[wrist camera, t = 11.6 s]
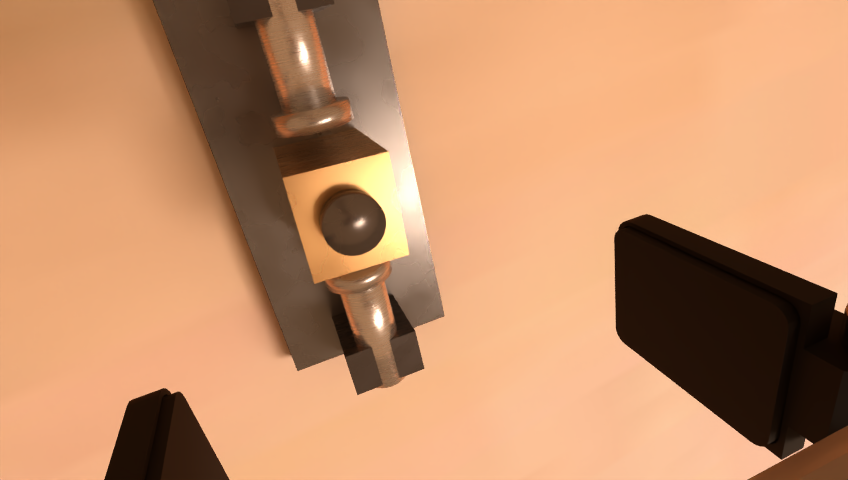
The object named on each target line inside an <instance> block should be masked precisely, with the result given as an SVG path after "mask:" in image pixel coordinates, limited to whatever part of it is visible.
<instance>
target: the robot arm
mask: <svg viewBox="0 0 848 480" xmlns="http://www.w3.org/2000/svg"><path fill="white" fill-rule="evenodd" d="M614 243H615V302H616V331H617V334H618V336H619V337H620V339H621V340H622V341H623V342H624V343H625V344H626V345H627V346H628V347H630V348H631V349H632V350H634V351H635V352H636V353H637V354H639V355H640V356H641V357H643V358H644V359H645V360H646V361H648V362H649V363H650V364H652V365H653V366H654V367H655V368H657V369H658V370H659V371H661V372H662V373H663V374H664V375H666V376H667V377H668V378H670V379H671V380H672V381H673V382H675V383H676V384H677V385H678V386H680V387H681V388H682V389H684V390H685V391H686V392H687V393H689V394H690V395H691V396H693V397H694V398H695V399H696V400H698V401H699V402H700V403H702V404H703V405H704V406H705V407H707V408H708V409H709V410H711V411H712V412H713V413H714V414H716V415H717V416H718V417H720V418H721V419H722V420H723V421H725V422H726V423H727V424H729V425H730V426H731V427H732V428H734V429H735V430H736V431H738V432H739V433H740V434H741V435H743V436H744V437H745V438H747V439H748V440H749V441H750V442H752V443H754V444H755V445H758V446H764V447H766V448H767V449H768V450H770V451H771V452H772V453H773V454H775V455H776V456H777V457H779V458H780V459H781V460H782V459H784V458H785V457H787V456H789V455H791V454H793V453H794V452H796V451H798V450H800V449H802V448H803V446H804V442H805V438H806V439H807V440H809V441H810V442H812V443H813V445H811V446H809V447H807V448H805V449H803V450H802V451H800V452H798V453H796V454H794V455H792V456H790V457H789V458H787V459H785V460H783V461H781V462H779V463H778V464H776V465H774V466H772V467H770V468H768V469H766V470H765V471H763V472H761V473H759V474H757V475H755V476H753V477H752V478H750V479H748V480H848V304H847V306H846V308H845V312H844V314H843V313H841V312H839V311H837V310H834V307H835V303H836V298H837V294H838V293H836V292H833V291H831V290H828V289H826V288H824V287H821V286H819V285H816V284H814V283H812V282H809V281H807V280H805V279H802V278H800V277H797V276H795V275H793V274H790V273H788V272H785V271H783V270H781V269H778V268H776V267H773V266H771V265H769V264H766V263H764V262H761V261H759V260H757V259H754V258H752V257H749V256H747V255H745V254H742V253H740V252H738V251H735V250H733V249H730V248H728V247H726V246H723V245H721V244H718V243H716V242H714V241H711V240H709V239H706V238H704V237H702V236H699V235H697V234H694V233H692V232H690V231H687V230H685V229H682V228H680V227H678V226H675V225H673V224H671V223H668V222H666V221H663V220H661V219H659V218H656V217H654V216H651V215H647V214H646V215H642V216H639V217H636V218H633V219H630V220H628V221H625V222H623V223H622V224H620V227H619V230H618V231H617V232H616V234H615V238H614ZM104 480H229V478H228V476H227V474H226V473H225V471H224V469H223V467H222V465H221V463H220V461H219V460H218V458H217V456H216V454H215V452H214V450H213V449H212V447H211V445H210V443H209V441H208V439H207V438H206V436H205V434H204V432H203V430H202V428H201V426H200V425H199V423H198V421H197V419H196V417H195V415H194V414H193V412H192V410H191V408H190V406H189V404H188V403H187V401H186V399H185V397H184V396H183V394H182V393H181V392H176V393H173V394H171V393H170V391H168V390H167V389H165V388H163V389H160V390H158V391H155V392H152V393H149V394H147V395H144V396H141V397H138V398H136V399H133V400H131V401H129V403H128V405H127V408H126V411H125V414H124V418H123V421H122V424H121V427H120V431H119V434H118V437H117V440H116V444H115V447H114V450H113V453H112V457H111V460H110V463H109V466H108V470H107V473H106V476H105V479H104Z"/></svg>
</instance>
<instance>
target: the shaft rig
mask: <svg viewBox="0 0 848 480" xmlns="http://www.w3.org/2000/svg"><path fill="white" fill-rule="evenodd" d="M153 2H154V5H155V7H156V10H157V12H158V15H159V17H160V20H161V23H162V25H163V28H164V30H165V33H166V35H167V38H168V41H169V43H170V46H171V48H172V51H173V53H174V56H175V58H176V61H177V64H178V66H179V69H180V71H181V74H182V76H183V79H184V81H185V84H186V87H187V89H188V92H189V94H190V97H191V99H192V102H193V104H194V107H195V110H196V112H197V115H198V117H199V120H200V122H201V125H202V128H203V130H204V133H205V135H206V138H207V140H208V143H209V145H210V148H211V151H212V153H213V156H214V158H215V161H216V163H217V166H218V168H219V171H220V174H221V176H222V179H223V181H224V184H225V186H226V189H227V191H228V194H229V197H230V199H231V202H232V204H233V207H234V209H235V212H236V215H237V217H238V220H239V222H240V225H241V227H242V230H243V232H244V235H245V238H246V240H247V243H248V245H249V248H250V250H251V253H252V255H253V258H254V261H255V263H256V266H257V268H258V271H259V273H260V276H261V278H262V281H263V284H264V286H265V289H266V291H267V294H268V296H269V299H270V302H271V304H272V307H273V309H274V312H275V314H276V317H277V319H278V322H279V325H280V327H281V330H282V332H283V335H284V337H285V340H286V342H287V345H288V348H289V350H290V353H291V355H292V358H293V360H294V363H295V365H296V368H297V371H299V370H302V369H304V368H307V367H310V366H312V365H315V364H318V363H320V362H323V361H326V360H328V359H331V358H334V357H336V356H339V355H342V354H344V356H345V359H346V362H347V365H348V368H349V371H350V374H351V377H352V380H353V383H354V386H355V389H356V392H357V395H359V394H361V393H364V392H366V391H369V390H372V389H374V388H387V387H391V386H394V385H396V384H397V383H399V382H400V381H402V380H403V379H404V377H405V376H407V375H409V374H412V373H414V372H417V371H419V370H422V369H424V365H423V361H422V357H421V353H420V349H419V345H418V341H417V337H416V333H415V330H414V327H417V326H419V325H422V324H425V323H428V322H430V321H433V320H436V319H438V318H441V317H444V311H443V307H442V302H441V297H440V292H439V288H438V283H437V278H436V274H435V269H434V264H433V259H432V255H431V250H430V245H429V240H428V236H427V231H426V226H425V221H424V217H423V212H422V207H421V202H420V198H419V193H418V188H417V183H416V179H415V174H414V169H413V164H412V160H411V155H410V150H409V145H408V141H407V136H406V131H405V126H404V122H403V117H402V112H401V107H400V103H399V98H398V93H397V89H396V84H395V79H394V74H393V70H392V65H391V60H390V55H389V51H388V46H387V41H386V36H385V32H384V27H383V22H382V17H381V13H380V8H379V3H378V0H153ZM352 129H357V130H359V131H360V132H362V133H363V134H365V135H366V136H367V137H369V138H370V139H372V140H373V141H375V142H376V143H377V144H379V145H380V146H382V147H383V148H385V149H386V150H387V151H389V155H390V160H391V165H392V170H393V175H394V180H395V185H396V190H397V195H398V200H399V205H400V210H401V215H402V220H403V225H404V230H405V235H406V240H407V245H408V250H409V255H407V256H403V257H400V258H397V259H394V260H390V261H387V262H384V263H381V264H377V265H374V266H371V267H368V268H364V269H361V270H358V271H355V272H351V273H348V274H345V275H342V276H338V277H335V278H332V279H329V280H325V281H322V282H319V283H316V284H314V281H313V277H312V274H311V271H310V268H309V264H308V261H307V258H306V254H305V251H304V248H303V244H302V241H301V238H300V235H299V231H298V228H297V225H296V221H295V218H294V215H293V211H292V208H291V205H290V202H289V198H288V195H287V192H286V188H285V185H284V182H283V178H282V175H281V172H280V168H279V165H278V162H277V158H276V155H275V152H274V149H273V148H275V147H280V146H284V145H288V144H292V143H297V142H301V141H305V140H309V139H314V138H318V137H322V136H326V135H331V134H335V133H339V132H343V131H348V130H352Z"/></svg>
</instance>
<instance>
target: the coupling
mask: <svg viewBox="0 0 848 480" xmlns="http://www.w3.org/2000/svg"><path fill="white" fill-rule="evenodd" d="M273 149H274V152H275V155H276V158H277V162H278V165H279V168H280V172H281V175H282V178H283V182H284V185H285V188H286V192H287V195H288V198H289V202H290V205H291V208H292V211H293V215H294V218H295V221H296V225H297V228H298V231H299V235H300V238H301V241H302V244H303V248H304V251H305V254H306V258H307V261H308V264H309V268H310V271H311V274H312V277H313V281H314V284H316V283H319V282H322V281H325V280H329V279H332V278H335V277H338V276H342V275H345V274H348V273H351V272H355V271H358V270H361V269H364V268H368V267H371V266H374V265H377V264H381V263H384V262H387V261H390V260H394V259H397V258H400V257H403V256H407V255H409V250H408V245H407V240H406V235H405V230H404V225H403V220H402V215H401V210H400V205H399V200H398V195H397V190H396V185H395V180H394V175H393V170H392V165H391V160H390V155H389V151H387V150H386V149H385V148H383V147H382V146H380V145H379V144H377V143H376V142H375V141H373V140H372V139H370V138H369V137H367V136H366V135H365V134H363V133H362V132H360V131H359V130H357V129H352V130H348V131H343V132H339V133H335V134H331V135H326V136H322V137H318V138H314V139H309V140H305V141H301V142H297V143H292V144H288V145H284V146H280V147H275V148H273Z"/></svg>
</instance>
